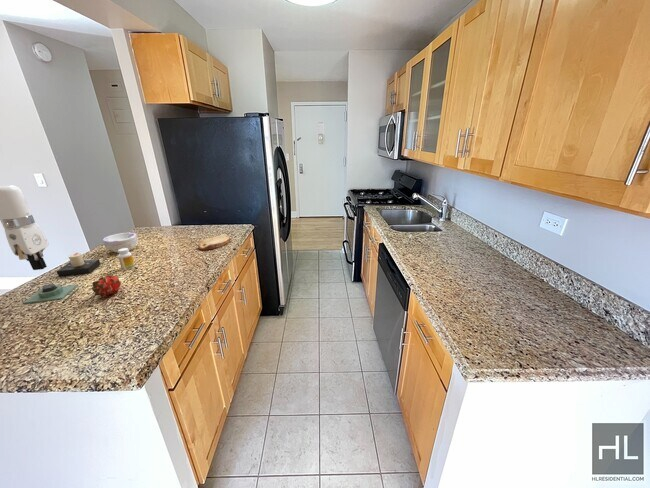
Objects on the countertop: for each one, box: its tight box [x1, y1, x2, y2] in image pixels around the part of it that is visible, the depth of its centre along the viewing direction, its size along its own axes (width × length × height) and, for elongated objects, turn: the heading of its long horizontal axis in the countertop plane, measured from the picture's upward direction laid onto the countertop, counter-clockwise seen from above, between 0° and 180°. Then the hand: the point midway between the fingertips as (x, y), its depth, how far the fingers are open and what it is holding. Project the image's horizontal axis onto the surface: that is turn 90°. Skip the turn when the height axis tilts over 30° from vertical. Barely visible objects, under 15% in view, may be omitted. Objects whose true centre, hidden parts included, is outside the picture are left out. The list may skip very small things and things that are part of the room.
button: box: [41, 283, 56, 292], centre depth 101 cm, size 4×4×2 cm
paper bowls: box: [102, 232, 139, 254], centre depth 146 cm, size 15×15×8 cm
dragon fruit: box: [91, 274, 122, 298], centre depth 104 cm, size 8×8×12 cm
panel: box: [56, 258, 102, 278], centre depth 123 cm, size 12×10×3 cm
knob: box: [68, 252, 85, 267], centre depth 122 cm, size 4×4×5 cm
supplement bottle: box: [117, 248, 136, 271], centre depth 125 cm, size 5×5×10 cm
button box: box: [22, 284, 80, 305], centre depth 102 cm, size 12×10×4 cm
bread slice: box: [197, 234, 232, 251], centre depth 155 cm, size 18×18×4 cm
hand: (40, 268), depth 98 cm, fingers closed
